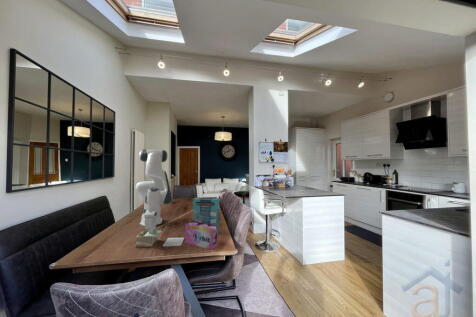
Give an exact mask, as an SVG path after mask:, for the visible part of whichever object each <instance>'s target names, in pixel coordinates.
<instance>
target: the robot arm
mask: <svg viewBox="0 0 476 317" xmlns="http://www.w3.org/2000/svg"><path fill="white" fill-rule="evenodd" d="M138 157H139V159H140V160H139V161H141V162H144V163H146V164H145V176H146V177H147V178H148V179H151V180H149V181H148V180H144V181H140V182H137V183H136V184H135V191H136V193H138V194H139V195H140V196H141V197H142V199H143V206H144V207H143V213H142V215H141V220H140V222H139V225H141V226H144V228H145V230H149V229H150V230H151V233H153V232H154V229H153V228H157V226H158V225H160V224H162V222H163V218H162V217H161V205H168V204H170V203H171V202H172V201H173V193H172V191H171V186H170V183H169V182H170V181H169V177H168V173H167V172H166V171H165V170H164V169H163V163H165V162H166V161H167V160H168V157H169V156H168V151H167V150H164V149H156V148H154V149H151V148H150V149H149V148H148V149H146V148H144V149H141V150H140V152H139V155H138Z"/></svg>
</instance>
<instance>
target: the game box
mask: <svg viewBox="0 0 476 317" xmlns="http://www.w3.org/2000/svg"><path fill="white" fill-rule="evenodd" d="M192 221H196V222H201V223H206V224H212V225H217V226H218V234H219V232H220V198H212V197H195V198H192Z"/></svg>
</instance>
